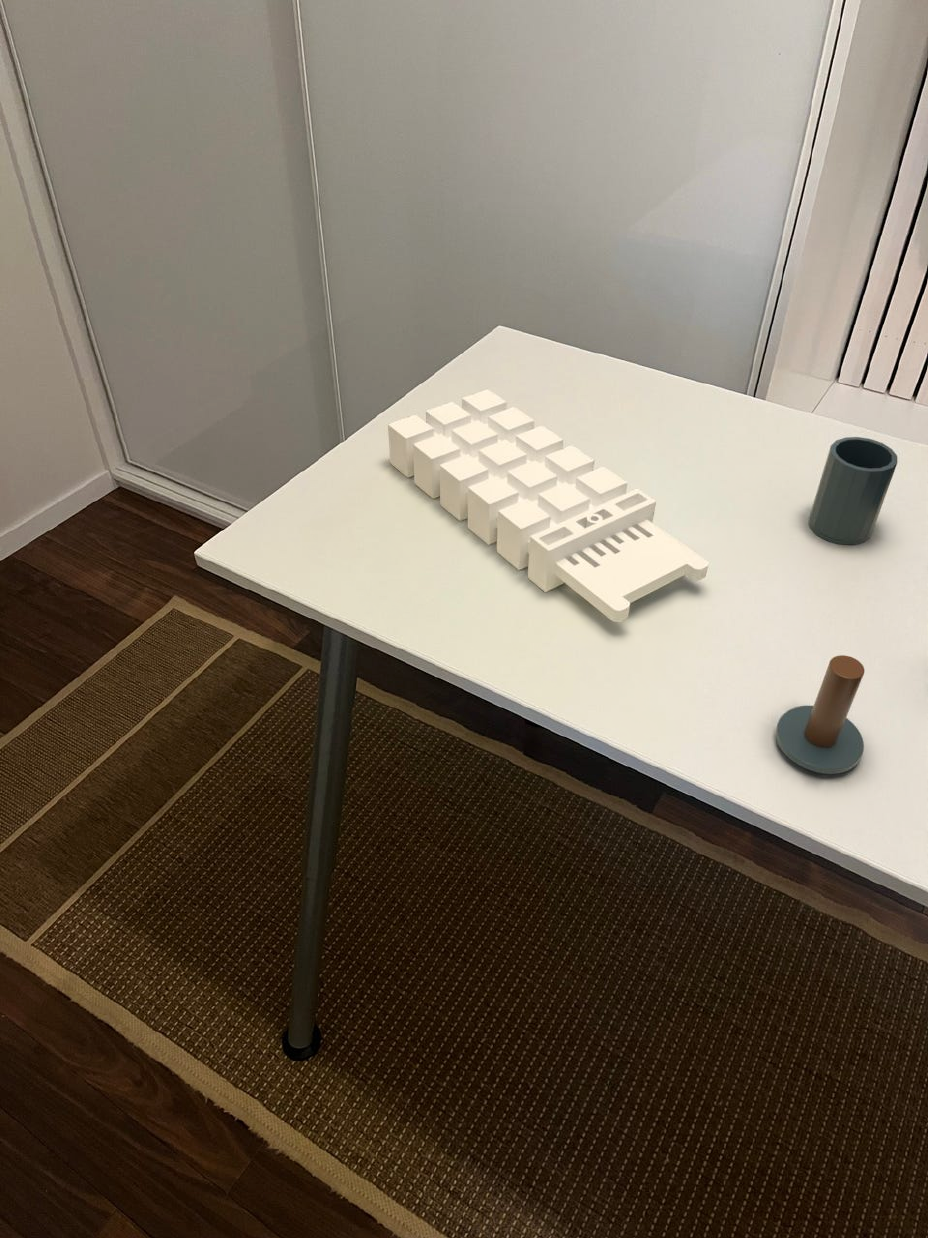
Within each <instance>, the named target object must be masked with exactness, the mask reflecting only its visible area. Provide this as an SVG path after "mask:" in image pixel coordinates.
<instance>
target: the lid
mask: <svg viewBox="0 0 928 1238" xmlns="http://www.w3.org/2000/svg"><path fill="white" fill-rule="evenodd" d="M864 674H865V667H864V665H863V664H862V662H861V661H859V660H858V659H856V658H855V657H852V656H849V655H842V654H841V655H836V656H834V657H832V658H831V659H830V661H829V663H828V666H827V668H826V671H825V673H824V676H823V679H822V682H821V684H820V687H819V689H818V692H817V694H816V695H817V696H816V697H815V701H814V704H813V705H801V706H796V707H792V708H791V709H789V710H787V711H786V712H784V713H783V714H782V715H781V717H780V718H779V720H778V722H777V725H776V728H775V738H776V742H777V744H778V746H779V748H780V750H781V751H782V752H783V754H784V755H785V756H786V757H787V758H788V759H789V760H791V761H792V762H793V763H794V764H796V765H798V766H800V767H801V768H803V769H806V770H808V771H810V772H815V773H819V774H820V773H821V774H826V775H827V774H828V775H832V774H842V773H845V772H847V771H850V770H851V769H853V768H854V767H855V766H857V764H859V762H860V760H861V759H862V756H863V754H864V750H865V745H864V743H865V742H864V738H863V736H862V734H861V732H860V730H859V729H858V727H857V726H856V725H855V724H854V723H853V722H852V721H851V720H850V719H848V715H849V712H850V709H851V706H852V704H853V702H854V699H855V697H856V695H857V692H858V690H859V688H860V684H861V682H862V679H863V677H864Z"/></svg>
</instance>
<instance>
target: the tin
mask: <svg viewBox="0 0 928 1238" xmlns="http://www.w3.org/2000/svg"><path fill="white" fill-rule="evenodd" d="M898 462H899V461H898V455H897V454H896V452H895V450H893V448H891V447H889V446H888V445H886V444H885V443H884V442H880V441H877V440H876V439H871V438H868V437H861V436H849V437H848V436H847V437H842V438H839V439H836V440H835V441H833V443H831V444H830V448H829V450H828V454H827V457H826V460H825V464H824V467H823V469H822V473H821V477H820V480H819V483H818V486H817V490H816V493H815V496H814V500H813V504H812V506H811V510H810V513H809V517H808V526H809V527H810V529H811V531H812V532H813V533H814V534H815V535H816V536H818V537H819V538H821V539H823V540H825V541H827V542H830V543H833V544H838V545H844V546H845V545H846V546H853V545H859V544H862V543H864V542H867V540H868V539H870V537H871V534H872V533H873V531H874V529H875V526H876V523H877V520H878V517H879V515H880V512H881V510H882V508H883V507H882V506H883V504H884V501H885V498H886V495H887V493H888V490H889V487H890V485H891V482H892V479H893V477H894V473H895V470H896V468H897V465H898Z"/></svg>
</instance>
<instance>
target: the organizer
mask: <svg viewBox="0 0 928 1238" xmlns="http://www.w3.org/2000/svg"><path fill="white" fill-rule="evenodd" d="M507 405H508V404H507V401H506V400H505V399H503V398H502V397H500V396H498V395H497V394H495V393H494V392H492V391H491V390H489V389H484V390H482V391H479V392H475V393H473V394H470V395H467V396H464V397H462V398H461V406H460V405H458V404H456V403H455V402H454V401H450V402H448V403H444V404H442V405H439V406H436V407H434V408H433V407H432V408H430V409H427V410H425V420H423V419H422V418H421V417H419V416H418V415H417V414H413V415H410V416H407V417H405V418H402V419H399V420H395V421H394V422H391V423H388V424H387V429H388V430H387V431H388V448H389V449H388V450H389V464H390V465H392V466H393V467H394V468H395V469H397V470H398V471H399V472H400V473H401V474H402V475H404V476H405V477H406V478H408V479H409V478H411V477H414V478H413V479H414V485H415V486H417V487H419V489H421V491H423V492H424V493H425V494H426V495H428V496H429V497H430V498H431V499H433V500H434V499H436V498H439V505H440V506H441V507H442V508H444V510H445V511H447V512H448V513H450V514H451V515H452V516H453V517H454V518H455V519H457V520H458V521H459V522H462V521H464V520H467V529H469V530H470V531H471V532H472V533H473V534H475V535H476V536H477V537H478V538H479V539H481V540H482V541H483V542H484V543H485V544H487V546H490V545H492V544H494V543H496V553H498V555H499V556H501V557H502V558H503V559H504V560H506V561H507V562H508V563H509V564H510V565H512V566H513V567H514V568H515V569H516V570H518V571H521V570H523V569H525V568H527V579H528V580H530V581H531V582H532V583H534V585H536V586H537V587H538V588H540V589H541V590H542V591H543V592H545V593H547V592H549V591H551V590H554V589H556V588H557V587H560V586H561V585H564V584H566V585H567V586H568V587H569V588H571V590H573V591H574V592H576V593H577V594H578V595H580V597H582V598H583V599H584V600H585V601H587V603H589V604H590V605H591V606H593V607H594V608H595V609H597V610H598V612H600V613H602V614H603V615H604V616H605V617H606V618H608V619H609V620H610V621H612V622H614V623H621V622H623V621H625V620H627V619H628V618H629V613H630V608H631V607H630V606H631V603H633V602H636V601H637V600H639V599H642V598H643V597H645V596H646V595H649V594H651V593H652V592H654V591H656V590H658V589H660V588H662V587H664V586H666V585H668V584H670V583H672V582H674V581H676V580H678V579H680V578H681V577H684V576H686V577H687V578H689V579H690V580H691V581H696V582H697V581H701V580H703V579H704V578H706V577H707V573H708V568H709V564H710V563H709V561H708V560H706V559H705V558H703V557H702V556H701V555H699V554H698V553H697V552H695V551H693V550H692V549H691V548H689V547H687V545H684V544H683V543H682V542H680V541H679V540H678V539H676V538H675V537H673V536H671V535H670V534H669V533H667V532H666V531H664V530H663V529H661V528H660V527H658V526H657V525H656V524H654V523H653V521H654V517H655V510H656V505H657V500H655V499H653V498H652V497H650V496H649V495H647V494H646V493H644V492H643V491H642V490H640V489H638V488H635V489H633V490H631V491H627V488H628V481H626V480H624V479H623V478H622V477H620V476H619V475H617V474H615V473H614V472H613V471H611V470H610V469H608V468H607V467H605V466H603V465H602V466H600V467H598V468H596V469H595V468H594V467H595V459H593V458H592V457H591V456H588V455H587V454H586V453H584V452H582V451H581V450H579V449H578V448H577V447H575V446H574V445H572V444H570V445H569V446H566V447H564V439H563V438H562V437H560V436H559V435H557V434H556V433H554V432H553V431H551V430H550V429H548V428H547V427H545V426H544V425H539V426H537V427H535V420H534V419H533V418H532V417H530V416H529V415H527V414H526V413H524V412H523V411H521V410H520V409H518V408H517V407H515V406H512V407H510V408H507V407H508V406H507Z"/></svg>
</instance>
